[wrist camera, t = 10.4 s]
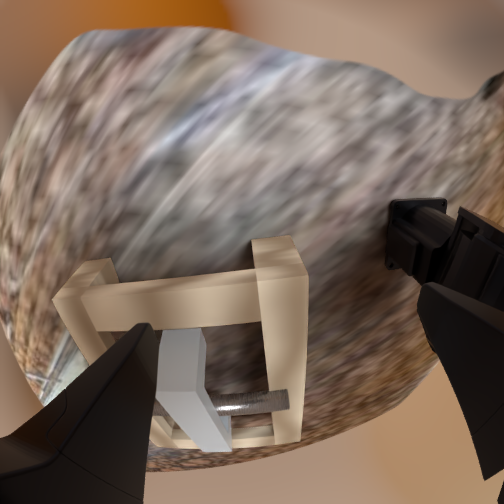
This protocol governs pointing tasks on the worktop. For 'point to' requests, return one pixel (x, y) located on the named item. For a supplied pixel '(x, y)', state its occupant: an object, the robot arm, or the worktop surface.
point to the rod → (242, 403)
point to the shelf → (205, 323)
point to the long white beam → (190, 390)
